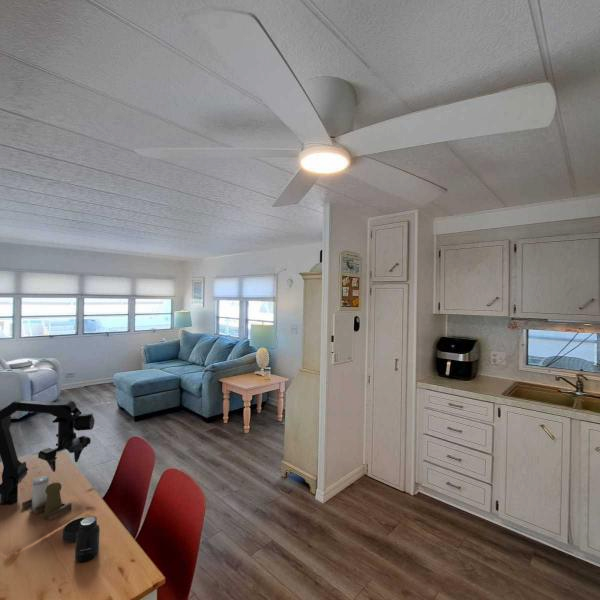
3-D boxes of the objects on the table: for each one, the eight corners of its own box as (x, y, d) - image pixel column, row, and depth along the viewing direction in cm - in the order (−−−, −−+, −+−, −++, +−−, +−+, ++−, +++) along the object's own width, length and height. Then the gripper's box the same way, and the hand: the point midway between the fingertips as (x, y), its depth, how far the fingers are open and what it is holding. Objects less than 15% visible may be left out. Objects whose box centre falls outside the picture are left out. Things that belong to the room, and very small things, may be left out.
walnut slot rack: (22, 510, 134) (22, 502, 134) (43, 499, 142) (44, 491, 142) (49, 523, 127) (50, 514, 127) (71, 511, 134) (71, 503, 134)
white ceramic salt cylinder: (28, 507, 135) (29, 481, 135) (43, 500, 140) (44, 474, 140) (36, 511, 132) (37, 484, 132) (51, 503, 138) (52, 477, 138)
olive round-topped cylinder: (66, 508, 135) (66, 481, 135) (52, 517, 129) (52, 489, 129) (54, 505, 136) (54, 479, 136) (39, 515, 130) (40, 487, 130)
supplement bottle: (81, 567, 107) (81, 530, 107) (71, 558, 110) (71, 522, 110) (103, 553, 113) (103, 518, 113) (92, 545, 116) (93, 511, 116)
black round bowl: (69, 547, 115) (69, 536, 115) (58, 537, 120) (58, 526, 120) (96, 533, 123) (96, 522, 123) (84, 523, 127) (85, 513, 127)
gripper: (53, 443, 133) (53, 481, 133) (98, 427, 150) (98, 461, 150) (37, 437, 137) (37, 475, 137) (83, 422, 154) (82, 456, 154)
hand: (65, 466), depth 144 cm, fingers open, 9 cm apart
